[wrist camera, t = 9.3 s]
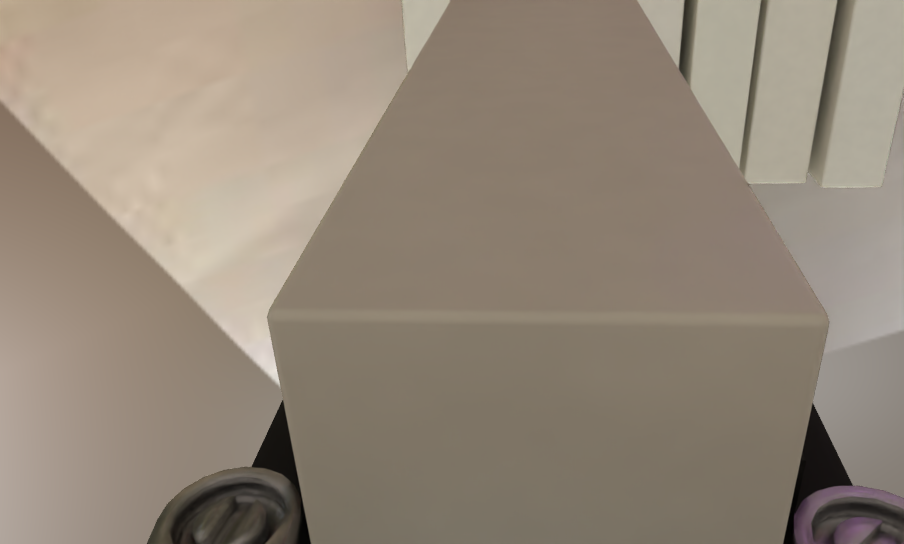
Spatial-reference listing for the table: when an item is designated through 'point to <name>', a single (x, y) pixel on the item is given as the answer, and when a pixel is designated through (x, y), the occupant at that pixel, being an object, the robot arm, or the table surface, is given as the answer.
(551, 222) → the white book
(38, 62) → the table surface
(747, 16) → the cubes on dark base
